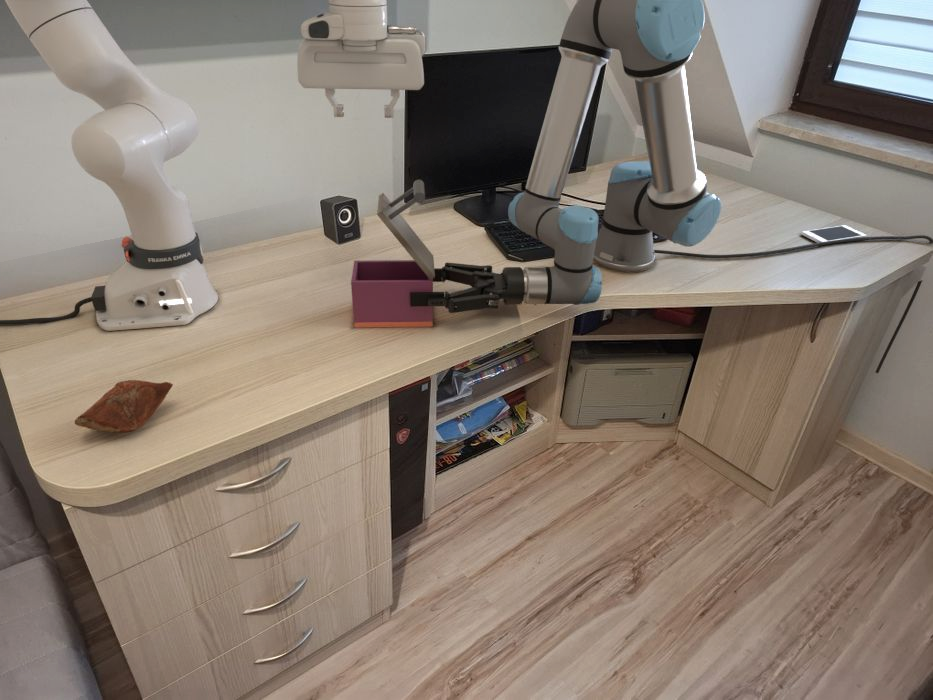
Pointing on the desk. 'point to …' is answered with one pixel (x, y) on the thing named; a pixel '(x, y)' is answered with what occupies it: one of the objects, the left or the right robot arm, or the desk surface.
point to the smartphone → (832, 234)
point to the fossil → (125, 406)
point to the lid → (407, 227)
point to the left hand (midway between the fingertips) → (364, 116)
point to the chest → (389, 294)
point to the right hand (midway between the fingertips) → (410, 286)
